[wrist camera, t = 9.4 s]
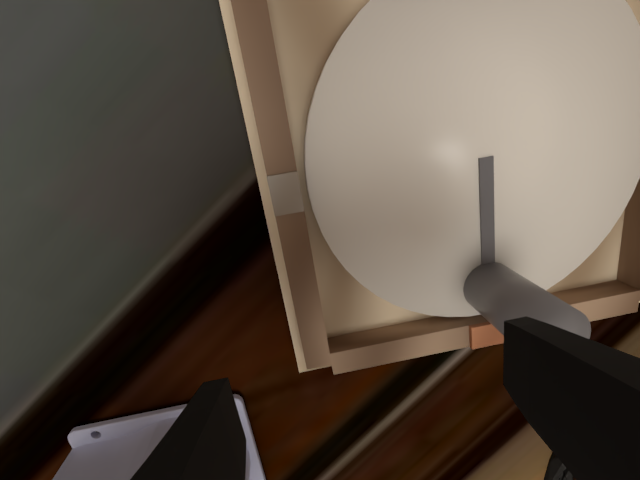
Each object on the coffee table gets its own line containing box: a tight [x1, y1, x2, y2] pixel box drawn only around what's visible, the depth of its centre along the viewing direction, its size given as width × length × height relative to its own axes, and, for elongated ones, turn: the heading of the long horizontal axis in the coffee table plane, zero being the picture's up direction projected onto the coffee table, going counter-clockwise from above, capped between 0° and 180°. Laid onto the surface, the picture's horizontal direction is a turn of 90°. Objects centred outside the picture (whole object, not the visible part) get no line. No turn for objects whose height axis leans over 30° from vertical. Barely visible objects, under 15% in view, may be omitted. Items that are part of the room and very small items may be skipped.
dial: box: [304, 0, 640, 339], centre depth 13 cm, size 15×15×5 cm
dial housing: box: [219, 0, 640, 375], centre depth 16 cm, size 19×19×3 cm
